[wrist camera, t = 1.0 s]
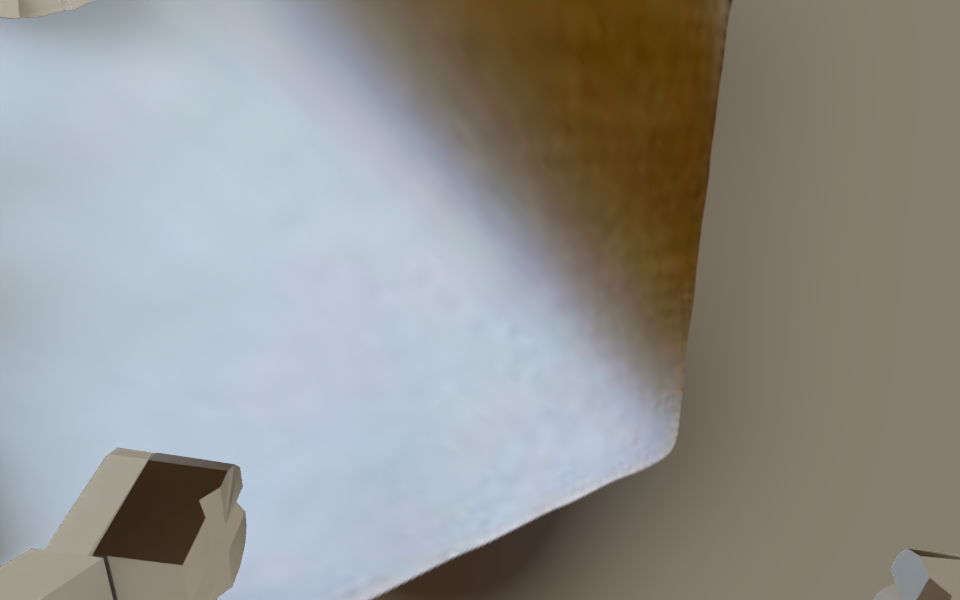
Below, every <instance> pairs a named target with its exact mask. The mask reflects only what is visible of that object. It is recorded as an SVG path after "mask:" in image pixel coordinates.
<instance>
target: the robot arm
mask: <svg viewBox="0 0 960 600" xmlns="http://www.w3.org/2000/svg"><path fill="white" fill-rule="evenodd" d="M242 487H243V485H242V478H241V471H240V467H238V466H237V465H235V464H228V463H222V462H215V461H209V460H202V459H195V458H189V457H182V456H176V455H169V454H162V453H151V452H145V451H138V450H131V449H125V448H117V449H115V450H114V451H112V452H111V453H110V454H108V455H107V456H106V457H105V459H104V460H103V462H102V463H101V465H100V466H99V468H98V469H97V471H96V472H95V474H94V475H93V477H92V478H91V480H90V481H89V483H88V484H87V486H86V487H85V489H84V490H83V492H82V493H81V495H80V496H79V498H78V499H77V501H76V502H75V504H74V505H73V507H72V508H71V510H70V511H69V513H68V514H67V516H66V517H65V519H64V521H63V522H62V524H61V525H60V527H59V528H58V530H57V531H56V533H55V534H54V536H53V537H52V539H51V540H50V542H49V543H48V545H47V546H46V548H45V549H44V550H42V549H33V548H32V549H30V550H28V551H27V552H25V553H23V554H22V555H20V556H18V557H16V558H15V559H13V560H11V561H10V562H8V563H6V564H5V565H3V566H1V567H0V600H217V597H219V596H220V595H221V594H223V593H224V592H226V591H227V590H228V589H230V588H231V587H232V586H233V583H234V581H235V578H236V575H237V573H238V570H239V568H240V564H241V559H242V555H243V551H244V546H245V539H246V515H245V511H244V510H243V509H242V508H241V507H240V506H239V505H238V503H237V502H236V501H237V498H238V496H239V494H240V491H241V489H242ZM891 571H892V574H893V577H894V579H895V582H896V583H894V584H892V585H890V586H889V587H887V588H885V589H883V590H881V591H879V592H878V593H877V595H876V597H875V599H874V600H960V555H959V554H951V553H943V552H933V551H925V550H916V549H906V550H905V551H903V552H902V553H900V554H899V555H898V556H897V558H896V560H895V562H894V563H893V565H892V567H891Z"/></svg>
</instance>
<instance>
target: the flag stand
mask: <svg viewBox="0 0 960 600" xmlns="http://www.w3.org/2000/svg"><path fill="white" fill-rule="evenodd" d="M90 1H92V0H0V18H11V19H20V18H30V17H42V16H45V15H49V14H53V13H56V12H60V11H64V10H75V9H77V8H79V7H80V6H82V5H84V4H86V3H88V2H90Z"/></svg>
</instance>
